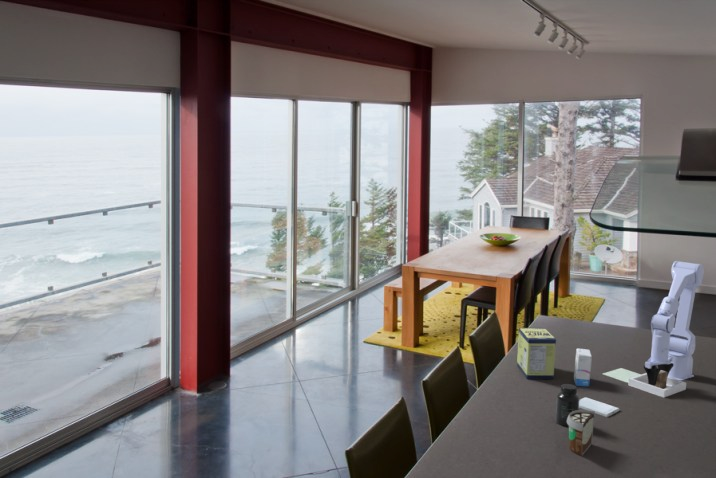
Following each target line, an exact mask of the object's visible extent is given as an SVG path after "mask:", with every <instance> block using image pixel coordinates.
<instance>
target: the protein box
mask: <svg viewBox="0 0 716 478" xmlns="http://www.w3.org/2000/svg"><path fill="white" fill-rule="evenodd" d="M556 345H557V339H556V337H555V336H553V334H552V333H550V332H549V331H548V330H547V329H546V328H545V327H518V339H517V357H516V358H517V359H516V367H518V369H519V370H520V372H521V373H522V375H523V376H524V377H525V379H527V380H554V377H555V362H556V361H555V360H556V347H557V346H556Z"/></svg>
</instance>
